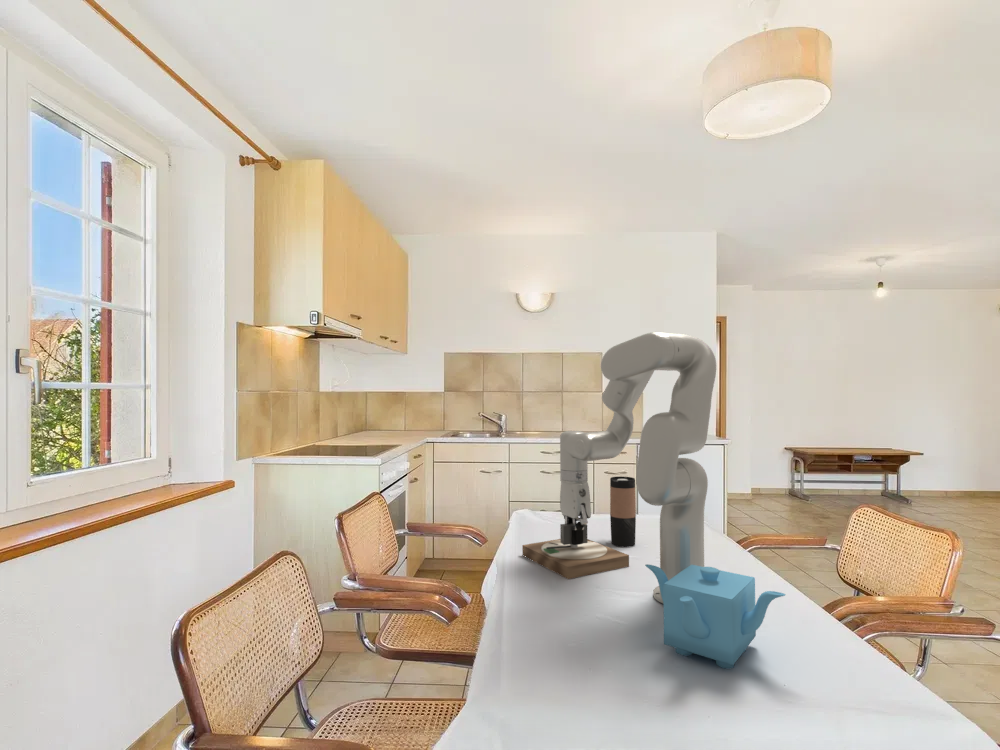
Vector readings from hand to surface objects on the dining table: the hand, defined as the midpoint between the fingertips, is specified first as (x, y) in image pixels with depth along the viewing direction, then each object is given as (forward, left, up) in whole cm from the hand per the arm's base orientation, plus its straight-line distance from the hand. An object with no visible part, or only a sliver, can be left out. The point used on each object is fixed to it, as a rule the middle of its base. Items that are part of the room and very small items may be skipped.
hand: (574, 541), depth 150 cm
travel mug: (+6, -23, -5) cm, 24 cm away
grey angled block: (+1, +2, -1) cm, 3 cm away
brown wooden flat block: (0, 0, -5) cm, 5 cm away
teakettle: (-54, +10, -5) cm, 55 cm away
